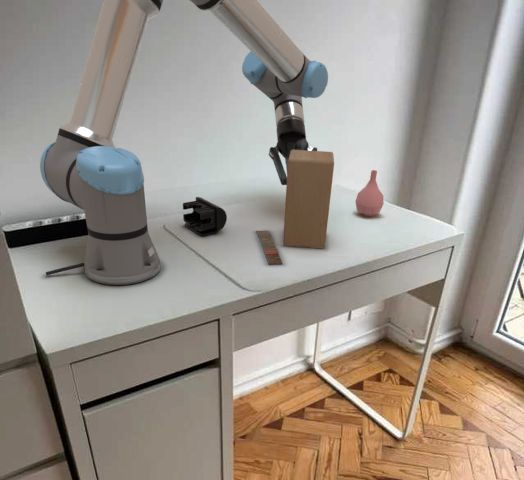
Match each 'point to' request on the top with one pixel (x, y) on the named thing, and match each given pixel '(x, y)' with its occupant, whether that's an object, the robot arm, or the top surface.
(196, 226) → the end cap
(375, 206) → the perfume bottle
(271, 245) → the ruler
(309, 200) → the wooden block
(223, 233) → the top surface
